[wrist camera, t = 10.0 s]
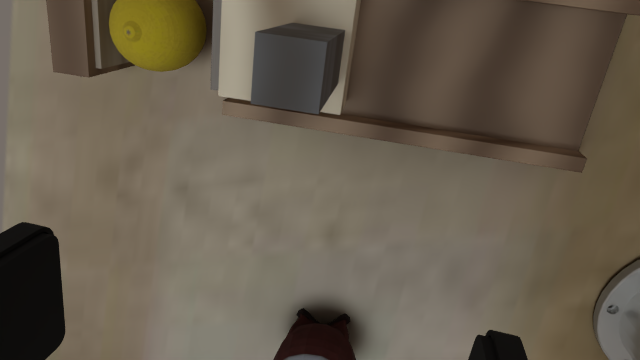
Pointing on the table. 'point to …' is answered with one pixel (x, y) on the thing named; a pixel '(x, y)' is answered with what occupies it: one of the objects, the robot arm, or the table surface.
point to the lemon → (158, 32)
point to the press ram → (284, 52)
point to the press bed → (473, 77)
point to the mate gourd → (316, 340)
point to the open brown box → (83, 38)
